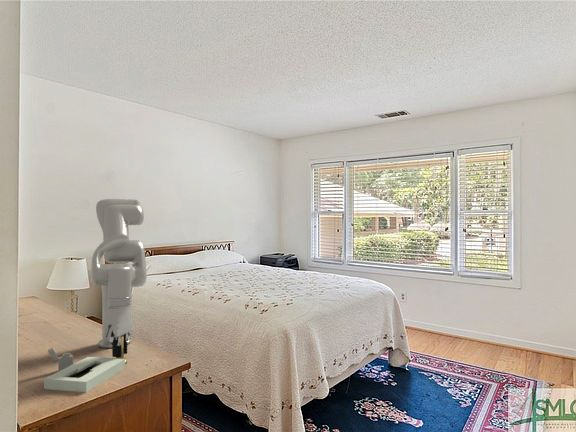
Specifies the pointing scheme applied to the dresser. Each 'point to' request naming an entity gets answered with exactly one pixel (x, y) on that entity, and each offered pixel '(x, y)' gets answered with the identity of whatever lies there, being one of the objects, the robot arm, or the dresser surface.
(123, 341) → the peg
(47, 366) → the dresser surface
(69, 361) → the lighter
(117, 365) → the board
